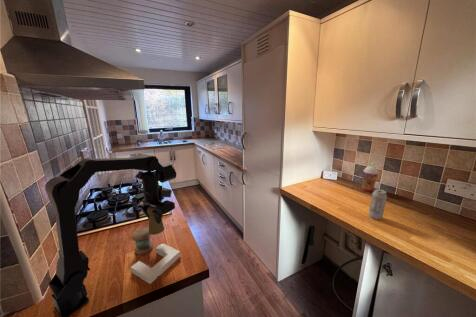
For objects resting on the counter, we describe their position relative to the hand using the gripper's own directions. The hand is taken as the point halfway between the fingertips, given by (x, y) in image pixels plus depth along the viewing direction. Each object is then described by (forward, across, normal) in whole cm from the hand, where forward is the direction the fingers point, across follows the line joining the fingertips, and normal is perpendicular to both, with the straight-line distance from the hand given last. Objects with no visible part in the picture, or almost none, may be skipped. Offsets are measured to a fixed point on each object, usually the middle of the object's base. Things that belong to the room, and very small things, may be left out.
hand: (155, 221), depth 79 cm
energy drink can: (+11, -84, -68) cm, 109 cm away
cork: (+4, 0, 0) cm, 4 cm away
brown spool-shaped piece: (+12, +5, +3) cm, 14 cm away
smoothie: (+10, -84, -105) cm, 135 cm away
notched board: (+12, -7, +6) cm, 16 cm away
